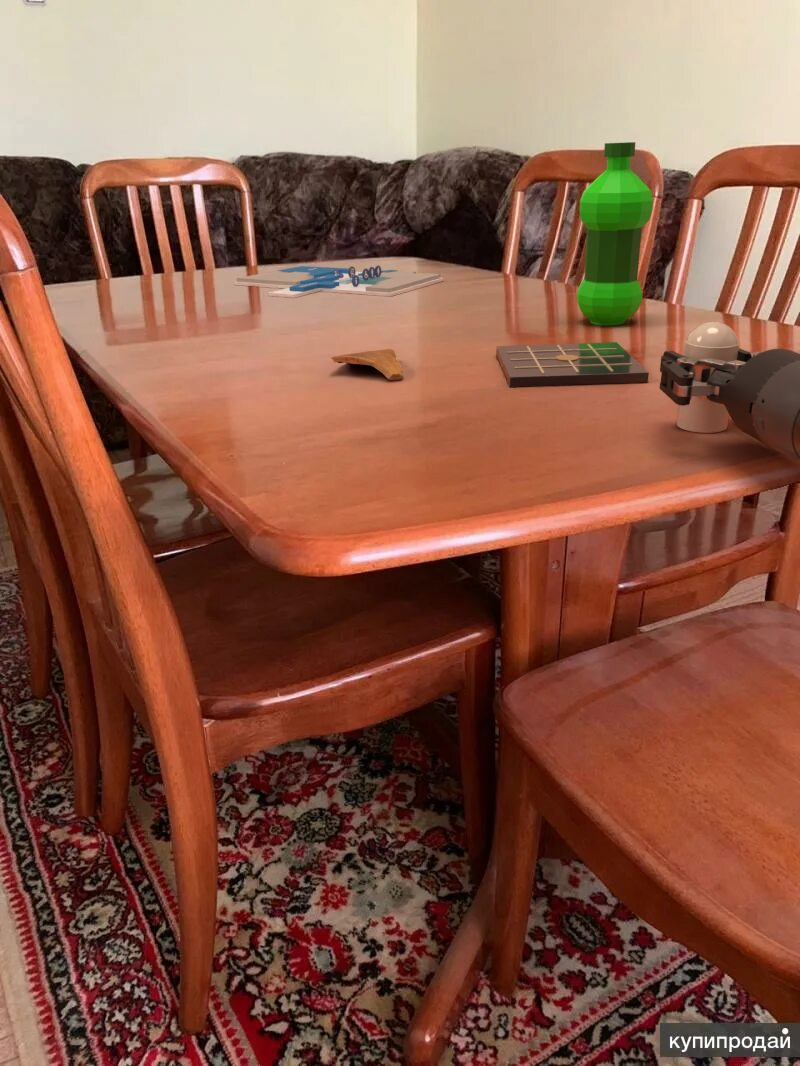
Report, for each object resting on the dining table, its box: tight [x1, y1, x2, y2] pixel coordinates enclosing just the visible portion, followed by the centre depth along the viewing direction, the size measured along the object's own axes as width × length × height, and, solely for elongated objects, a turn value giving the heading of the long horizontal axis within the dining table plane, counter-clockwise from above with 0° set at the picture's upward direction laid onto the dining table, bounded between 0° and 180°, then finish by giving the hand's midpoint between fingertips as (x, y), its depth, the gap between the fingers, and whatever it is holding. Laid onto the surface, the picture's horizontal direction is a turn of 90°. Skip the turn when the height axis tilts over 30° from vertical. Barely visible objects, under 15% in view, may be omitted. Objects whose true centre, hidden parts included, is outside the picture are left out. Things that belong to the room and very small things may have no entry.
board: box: [495, 341, 650, 388], centre depth 103 cm, size 16×16×1 cm
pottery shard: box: [330, 348, 405, 381], centre depth 104 cm, size 10×9×2 cm
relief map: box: [233, 265, 445, 299], centre depth 170 cm, size 30×40×4 cm
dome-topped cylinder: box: [675, 321, 740, 434], centre depth 79 cm, size 5×5×10 cm
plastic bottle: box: [576, 141, 654, 327], centre depth 122 cm, size 10×10×25 cm
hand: (696, 358), depth 81 cm, fingers open, 5 cm apart
